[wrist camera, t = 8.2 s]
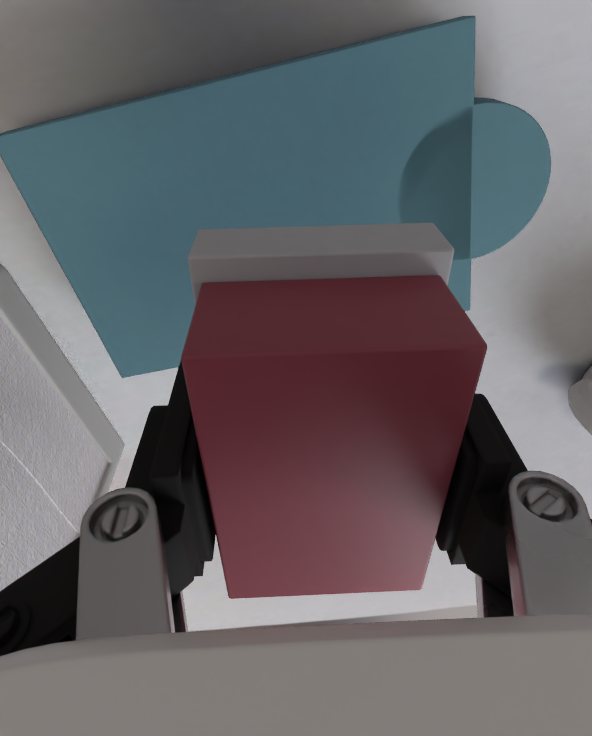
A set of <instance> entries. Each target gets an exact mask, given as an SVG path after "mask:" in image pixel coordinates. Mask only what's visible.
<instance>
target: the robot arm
mask: <svg viewBox="0 0 592 736" xmlns="http://www.w3.org/2000/svg"><path fill="white" fill-rule="evenodd" d="M215 535H216V531H215V526H214V521H213V516H212V511H211V506H210V501H209V496H208V491H207V486H206V481H205V476H204V471H203V466H202V461H201V456H200V451H199V446H198V441H197V436H196V431H195V426H194V421H193V416H192V411H191V406H190V401H189V396H188V391H187V386H186V381H185V376H184V371H183V366H182V361H180V365H179V368H178V372H177V375H176V379H175V383H174V386H173V390H172V393H171V397H170V401H169V404H168V405H167V406H153V407H152V408H151V410H150V412H149V415H148V418H147V421H146V424H145V427H144V430H143V434H142V437H141V440H140V443H139V446H138V449H137V452H136V455H135V458H134V462H133V465H132V468H131V471H130V474H129V477H128V480H127V483H126V486H125V488H121V489H116V490H114V491H111V492H108V493H106V494H105V495H103V496H101V497H100V498H98V499H97V500H96V501H95V502H94V503H93V504H92V505H91V506H90V507H89V508H88V509H87V511H86V513H85V514H84V516H83V518H82V522H81V527H80V537H78V538H77V539H75V540H74V541H72V542H71V543H69V544H68V545H66V546H65V547H64V548H62V549H61V550H59V551H58V552H56V553H55V554H53V555H52V556H51V557H49V558H48V559H46V560H45V561H43V562H42V563H40V564H39V565H37V566H36V567H35V568H33V569H32V570H30V571H29V572H27V573H26V574H24V575H23V576H21V577H20V578H19V579H17V580H16V581H14V582H13V583H11V584H10V585H8V586H7V587H6V588H4V589H3V590H1V591H0V736H592V519H590V517H589V514H588V510H587V507H586V504H585V502H584V500H583V498H582V496H581V495H580V494H579V493H578V491H577V490H576V489H575V488H574V487H573V486H571V485H570V484H569V483H567V482H566V481H565V480H563V479H561V478H559V477H557V476H555V475H553V474H549V473H545V472H541V471H528V470H527V468H526V467H525V465H524V463H523V461H522V460H521V458H520V456H519V454H518V453H517V451H516V449H515V447H514V446H513V444H512V442H511V440H510V439H509V437H508V435H507V433H506V432H505V430H504V428H503V426H502V425H501V423H500V421H499V419H498V418H497V416H496V414H495V412H494V411H493V409H492V407H491V405H490V404H489V402H488V400H487V399H486V397H485V396H484V395H482V394H474V398H473V402H472V405H471V409H470V413H469V416H468V420H467V424H466V427H465V431H464V435H463V438H462V442H461V446H460V449H459V453H458V457H457V460H456V464H455V468H454V471H453V475H452V479H451V482H450V486H449V490H448V493H447V497H446V501H445V504H444V508H443V512H442V515H441V519H440V523H439V526H438V530H437V534H436V537H435V538H436V541H437V544H438V547H439V549H440V550H441V551H446V550H447V553H448V556H449V559H450V562H451V565H453V564H466V566H467V568H468V569H470V570H471V571H472V572H474V573H475V574H476V575H475V580H476V597H477V615H478V618H463V619H442V620H441V619H440V620H418V621H397V622H376V623H355V624H335V625H316V626H315V625H314V626H294V627H274V628H255V629H236V630H217V631H199V632H188V626H187V620H186V613H185V606H184V599H183V592H182V590H183V589H184V588H186V587H187V586H188V585H189V584H190V583H191V582H192V581H193V580H194V576H203V569H204V561H212V559H213V552H214V544H215Z"/></svg>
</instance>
